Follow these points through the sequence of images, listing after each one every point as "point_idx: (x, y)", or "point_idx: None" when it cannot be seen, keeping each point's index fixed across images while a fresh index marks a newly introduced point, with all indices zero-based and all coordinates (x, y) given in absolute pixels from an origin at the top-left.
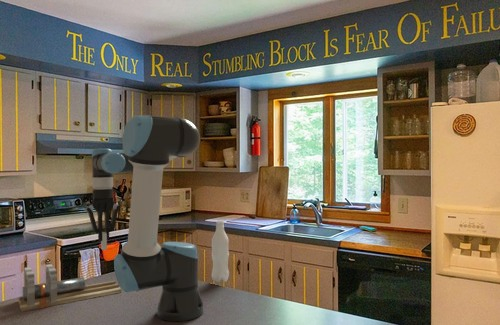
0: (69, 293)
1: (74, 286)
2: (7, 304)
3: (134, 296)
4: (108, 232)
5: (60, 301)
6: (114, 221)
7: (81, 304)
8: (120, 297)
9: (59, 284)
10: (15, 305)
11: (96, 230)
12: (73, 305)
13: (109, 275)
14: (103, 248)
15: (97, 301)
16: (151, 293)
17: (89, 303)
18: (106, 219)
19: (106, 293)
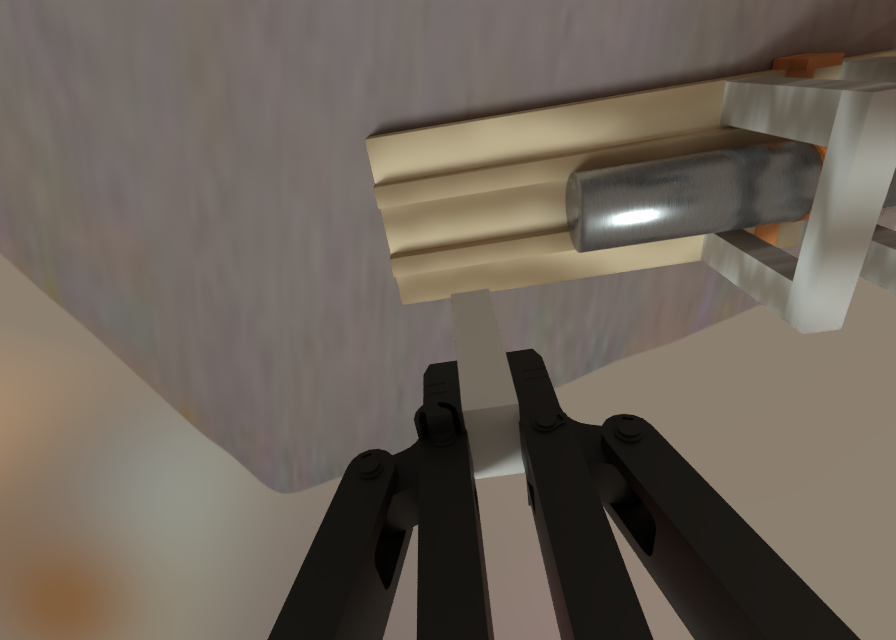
0: (653, 148)
1: (638, 165)
2: (892, 206)
3: (292, 9)
4: (437, 400)
5: (706, 81)
6: (315, 587)
7: (604, 10)
8: (378, 34)
9: (734, 169)
10: None
11: (623, 424)
12: (646, 15)
13: (407, 429)
14: (484, 297)
15: (513, 22)
16: (182, 18)
17: (561, 5)
18: (478, 629)
19: (452, 124)
